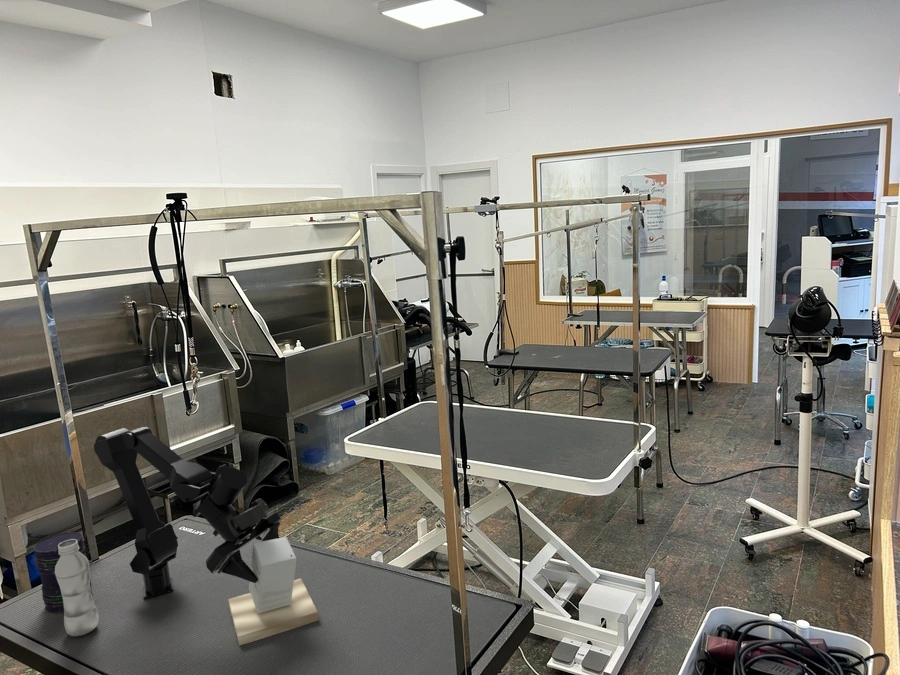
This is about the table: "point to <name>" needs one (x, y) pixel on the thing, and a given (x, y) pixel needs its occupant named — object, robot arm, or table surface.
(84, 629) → the plastic bottle
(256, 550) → the supplement box
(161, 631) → the table surface
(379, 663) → the table surface
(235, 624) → the ash board
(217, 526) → the robot arm
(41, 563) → the storage jar
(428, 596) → the table surface
